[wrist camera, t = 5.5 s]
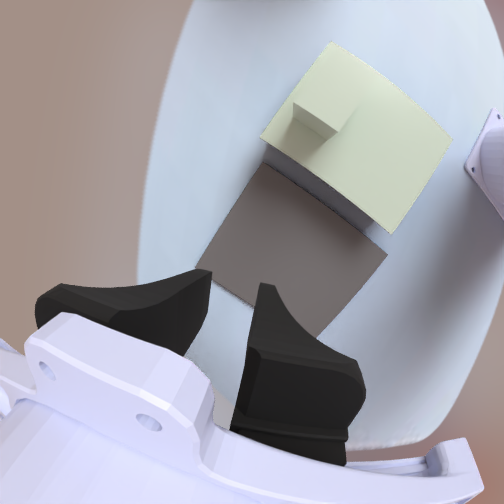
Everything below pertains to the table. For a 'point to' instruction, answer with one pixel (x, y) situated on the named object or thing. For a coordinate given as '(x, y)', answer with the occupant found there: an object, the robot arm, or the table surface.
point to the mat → (290, 251)
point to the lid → (359, 135)
